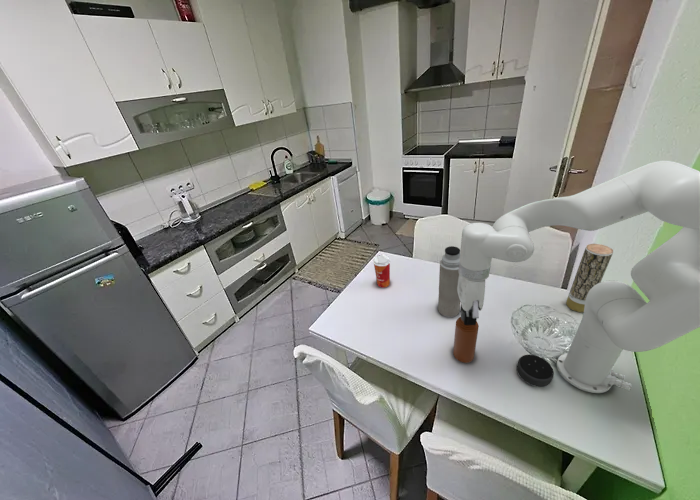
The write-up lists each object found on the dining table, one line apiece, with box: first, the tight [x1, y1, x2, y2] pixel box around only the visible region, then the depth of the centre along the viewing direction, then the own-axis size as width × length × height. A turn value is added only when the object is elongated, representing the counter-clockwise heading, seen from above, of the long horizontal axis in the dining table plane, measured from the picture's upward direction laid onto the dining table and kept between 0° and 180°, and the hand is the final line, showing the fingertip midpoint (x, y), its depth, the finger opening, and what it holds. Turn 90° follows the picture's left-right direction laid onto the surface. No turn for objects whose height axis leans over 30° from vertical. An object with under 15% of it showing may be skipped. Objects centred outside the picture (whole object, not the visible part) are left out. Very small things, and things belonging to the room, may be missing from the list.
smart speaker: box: [516, 354, 555, 388], centre depth 81 cm, size 9×9×4 cm
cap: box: [460, 308, 473, 321], centre depth 81 cm, size 4×4×3 cm
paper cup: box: [372, 254, 391, 289], centre depth 124 cm, size 8×8×14 cm
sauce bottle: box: [452, 316, 479, 364], centre depth 86 cm, size 6×6×20 cm
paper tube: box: [565, 243, 614, 313], centre depth 95 cm, size 7×7×25 cm
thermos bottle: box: [437, 245, 461, 318], centre depth 101 cm, size 8×8×28 cm
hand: (467, 317), depth 82 cm, fingers closed on cap, 4 cm apart
